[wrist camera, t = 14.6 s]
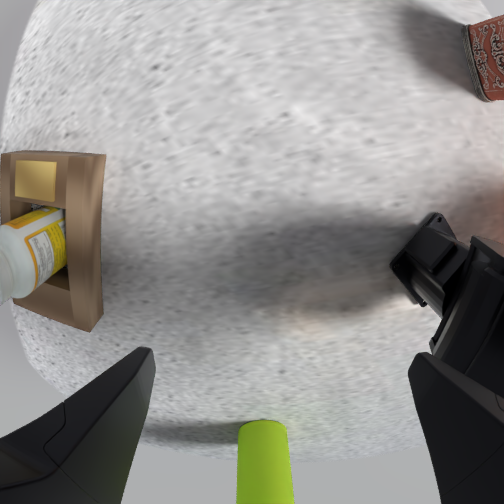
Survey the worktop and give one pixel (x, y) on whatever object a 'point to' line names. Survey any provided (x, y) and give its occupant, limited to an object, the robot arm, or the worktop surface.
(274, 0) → the worktop surface
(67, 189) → the socket block
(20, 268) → the supplement bottle
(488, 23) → the lighter
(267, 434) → the soap dispenser
